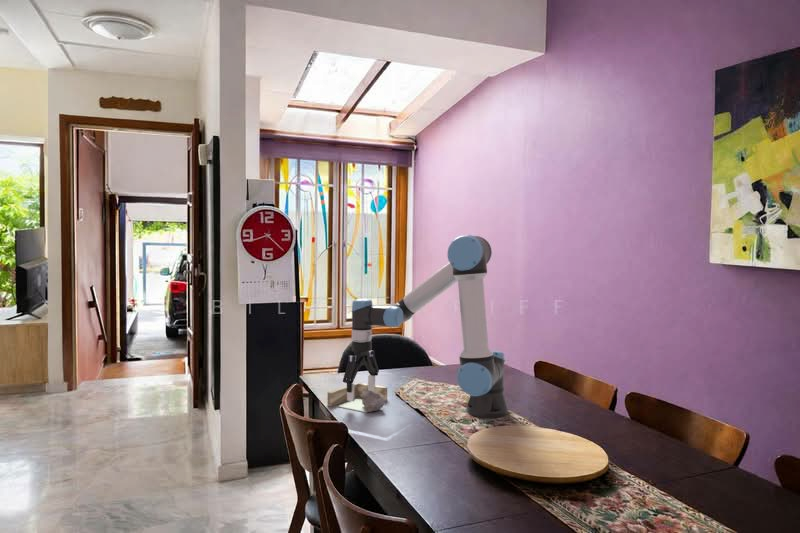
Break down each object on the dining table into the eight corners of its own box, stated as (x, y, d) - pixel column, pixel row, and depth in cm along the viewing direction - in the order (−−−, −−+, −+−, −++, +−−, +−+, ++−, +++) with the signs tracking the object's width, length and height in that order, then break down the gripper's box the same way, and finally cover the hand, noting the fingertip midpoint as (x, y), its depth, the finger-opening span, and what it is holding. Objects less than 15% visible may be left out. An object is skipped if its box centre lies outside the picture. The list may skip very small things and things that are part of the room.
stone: (353, 405, 196) (354, 390, 195) (371, 403, 201) (372, 388, 200) (367, 413, 188) (369, 397, 188) (386, 411, 193) (387, 395, 192)
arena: (387, 399, 207) (387, 387, 207) (359, 411, 191) (360, 398, 191) (356, 394, 215) (356, 381, 215) (327, 405, 199) (327, 392, 199)
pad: (384, 404, 201) (384, 403, 201) (366, 412, 191) (366, 411, 191) (356, 399, 208) (356, 398, 207) (337, 406, 197) (337, 406, 197)
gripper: (350, 346, 186) (349, 406, 186) (387, 336, 207) (387, 390, 208) (333, 344, 190) (332, 402, 190) (372, 335, 211) (371, 387, 212)
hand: (361, 396), depth 199 cm, fingers open, 13 cm apart
